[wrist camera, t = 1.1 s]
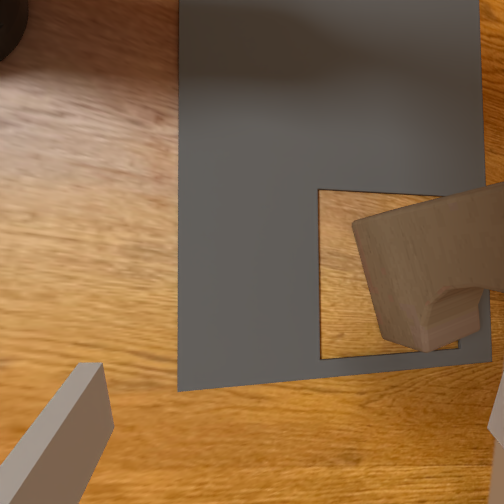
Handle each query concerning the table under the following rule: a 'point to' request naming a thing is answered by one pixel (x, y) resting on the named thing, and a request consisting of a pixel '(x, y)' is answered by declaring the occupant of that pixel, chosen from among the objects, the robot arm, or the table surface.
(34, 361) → the table surface
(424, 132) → the mat
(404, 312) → the decorative block
